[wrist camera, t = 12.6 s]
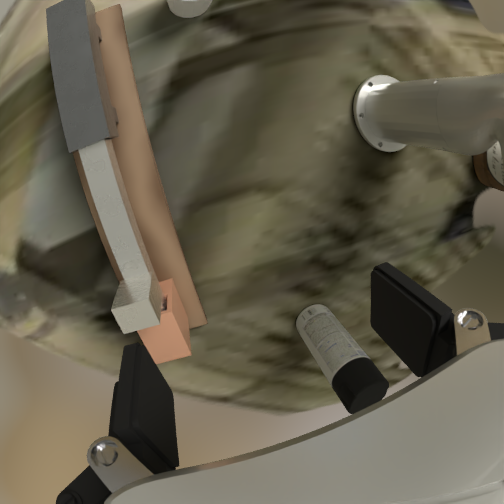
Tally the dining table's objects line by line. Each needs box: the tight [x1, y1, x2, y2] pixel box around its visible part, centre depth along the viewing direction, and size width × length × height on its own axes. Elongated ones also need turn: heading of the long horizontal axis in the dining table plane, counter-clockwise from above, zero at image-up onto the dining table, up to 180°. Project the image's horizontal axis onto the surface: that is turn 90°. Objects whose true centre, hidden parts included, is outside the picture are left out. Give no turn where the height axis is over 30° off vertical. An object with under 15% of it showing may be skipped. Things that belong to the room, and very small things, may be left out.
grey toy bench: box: [46, 0, 119, 153], centre depth 24 cm, size 5×18×8 cm, turn 12°
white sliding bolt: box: [78, 138, 167, 334], centre depth 28 cm, size 4×27×9 cm, turn 12°
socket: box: [137, 278, 192, 364], centre depth 37 cm, size 5×7×8 cm
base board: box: [73, 4, 208, 329], centre depth 34 cm, size 10×48×2 cm, turn 12°
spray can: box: [296, 304, 389, 414], centre depth 42 cm, size 7×7×20 cm
